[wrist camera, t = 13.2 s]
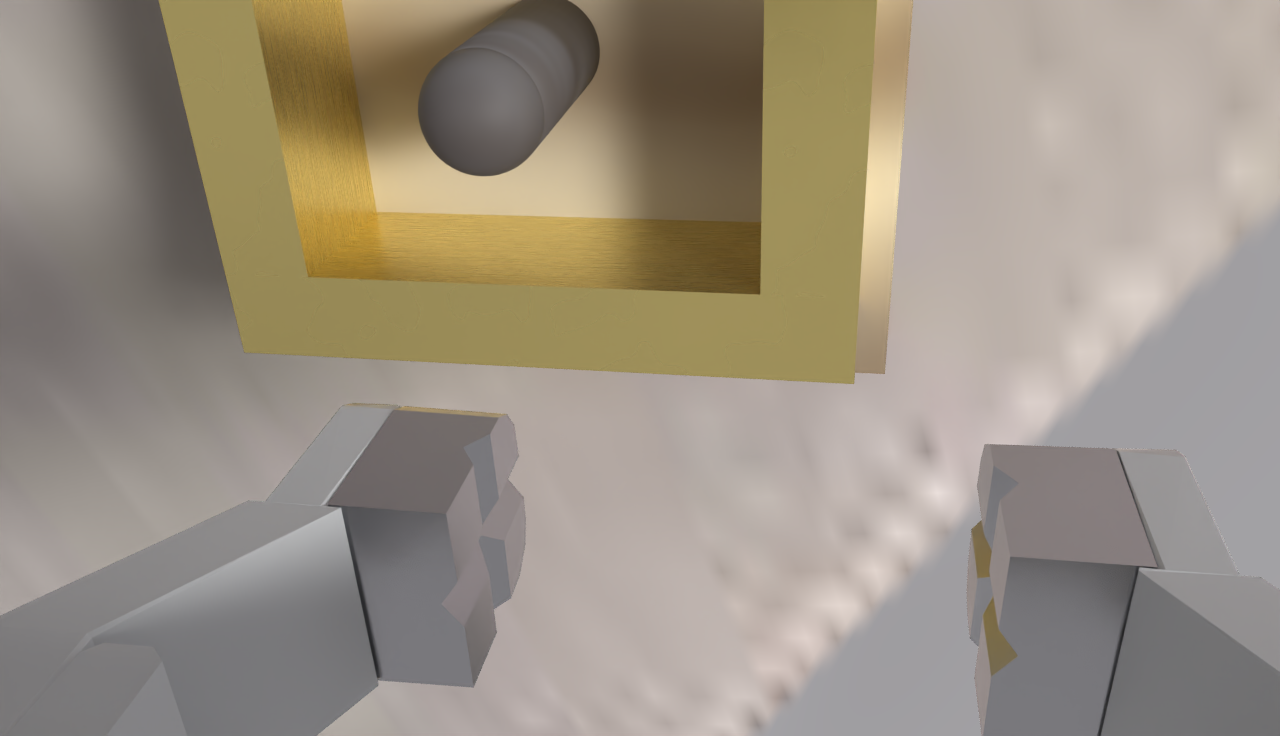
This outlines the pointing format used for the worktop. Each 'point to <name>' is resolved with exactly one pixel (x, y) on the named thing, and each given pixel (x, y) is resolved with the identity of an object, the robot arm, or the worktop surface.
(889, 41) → the keeper base
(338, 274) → the brass link
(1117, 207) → the worktop surface
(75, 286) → the worktop surface
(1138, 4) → the worktop surface
